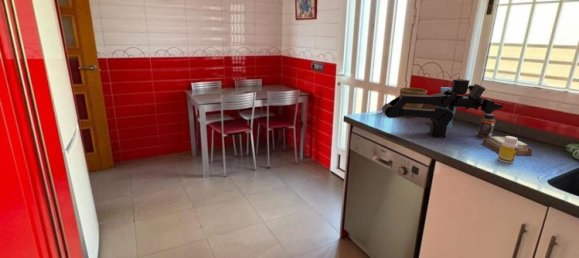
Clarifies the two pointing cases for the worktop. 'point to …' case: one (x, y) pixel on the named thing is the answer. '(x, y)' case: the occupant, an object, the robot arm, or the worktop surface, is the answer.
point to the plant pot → (412, 92)
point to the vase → (447, 107)
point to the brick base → (496, 148)
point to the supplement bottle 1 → (487, 126)
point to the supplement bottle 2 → (508, 149)
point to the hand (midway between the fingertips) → (497, 104)
